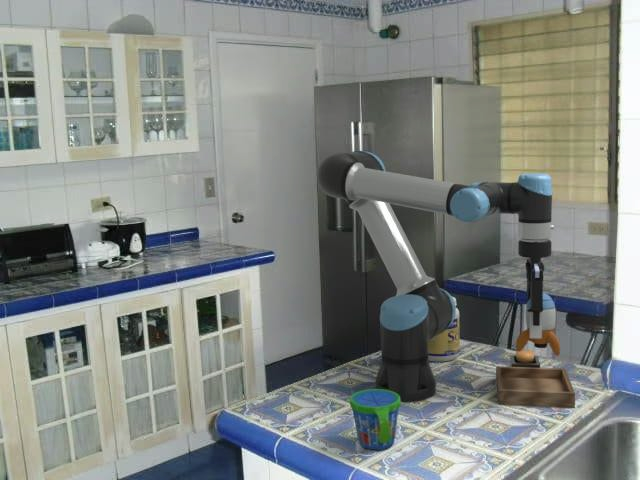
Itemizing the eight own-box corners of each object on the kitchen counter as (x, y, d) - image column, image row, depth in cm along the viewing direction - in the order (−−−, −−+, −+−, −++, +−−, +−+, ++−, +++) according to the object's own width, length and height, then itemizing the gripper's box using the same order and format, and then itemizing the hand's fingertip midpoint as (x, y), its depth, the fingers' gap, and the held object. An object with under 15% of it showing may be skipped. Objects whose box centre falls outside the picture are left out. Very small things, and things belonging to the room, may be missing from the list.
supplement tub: (450, 365, 193) (450, 306, 191) (410, 359, 200) (409, 301, 197) (466, 352, 204) (465, 296, 201) (426, 347, 210) (426, 292, 207)
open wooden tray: (498, 404, 165) (498, 390, 165) (496, 379, 182) (496, 366, 181) (574, 408, 162) (575, 393, 161) (565, 381, 178) (565, 368, 178)
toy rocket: (568, 359, 164) (560, 300, 161) (522, 367, 165) (513, 309, 162) (555, 342, 174) (547, 286, 171) (513, 349, 175) (504, 294, 172)
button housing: (511, 378, 182) (511, 363, 181) (510, 369, 189) (510, 355, 188) (540, 379, 180) (540, 364, 180) (537, 370, 187) (537, 355, 186)
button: (516, 362, 182) (516, 354, 182) (515, 356, 187) (515, 349, 186) (534, 362, 181) (534, 355, 181) (533, 357, 186) (533, 349, 185)
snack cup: (347, 429, 155) (346, 385, 153) (395, 426, 156) (394, 382, 154) (355, 462, 140) (353, 413, 138) (407, 459, 140) (406, 410, 139)
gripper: (556, 246, 155) (555, 346, 159) (546, 232, 175) (546, 322, 178) (521, 246, 157) (521, 345, 160) (515, 233, 176) (515, 321, 180)
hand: (534, 333), depth 169 cm, fingers closed on toy rocket, 7 cm apart
